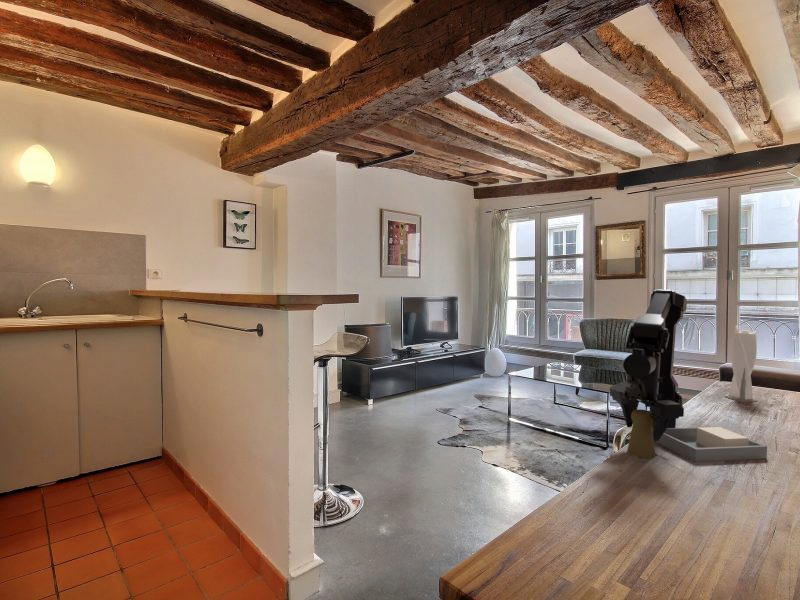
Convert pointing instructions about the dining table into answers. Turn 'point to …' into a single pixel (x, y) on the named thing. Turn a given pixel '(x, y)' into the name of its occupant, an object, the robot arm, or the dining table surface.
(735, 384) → the skyscraper
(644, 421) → the olive tall rounded piece
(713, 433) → the cream beveled block
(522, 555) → the dining table surface
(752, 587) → the dining table surface
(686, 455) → the tray
